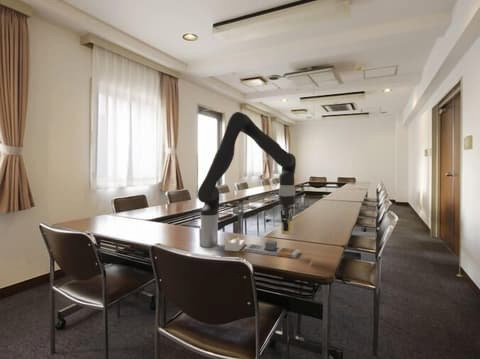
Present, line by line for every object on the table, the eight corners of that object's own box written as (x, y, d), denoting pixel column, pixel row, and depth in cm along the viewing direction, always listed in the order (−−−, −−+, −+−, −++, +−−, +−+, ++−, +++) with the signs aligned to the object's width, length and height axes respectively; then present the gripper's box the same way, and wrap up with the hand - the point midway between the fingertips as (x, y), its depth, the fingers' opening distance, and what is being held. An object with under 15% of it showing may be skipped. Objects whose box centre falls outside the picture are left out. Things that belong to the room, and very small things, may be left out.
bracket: (238, 253, 138) (238, 238, 137) (224, 252, 140) (224, 237, 139) (244, 246, 150) (244, 232, 150) (232, 245, 152) (232, 232, 152)
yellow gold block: (281, 234, 131) (281, 220, 131) (284, 232, 135) (283, 218, 135) (290, 234, 129) (290, 221, 129) (293, 232, 133) (292, 219, 133)
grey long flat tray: (243, 253, 137) (243, 248, 137) (250, 248, 145) (250, 243, 145) (295, 260, 126) (295, 254, 126) (299, 254, 135) (299, 249, 135)
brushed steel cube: (265, 252, 135) (265, 242, 135) (268, 250, 139) (268, 240, 139) (274, 253, 133) (274, 243, 133) (276, 251, 137) (276, 241, 137)
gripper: (283, 193, 139) (283, 226, 140) (274, 195, 126) (275, 232, 127) (298, 193, 136) (298, 227, 137) (291, 196, 123) (291, 233, 124)
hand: (287, 229), depth 132 cm, fingers closed on yellow gold block, 4 cm apart
